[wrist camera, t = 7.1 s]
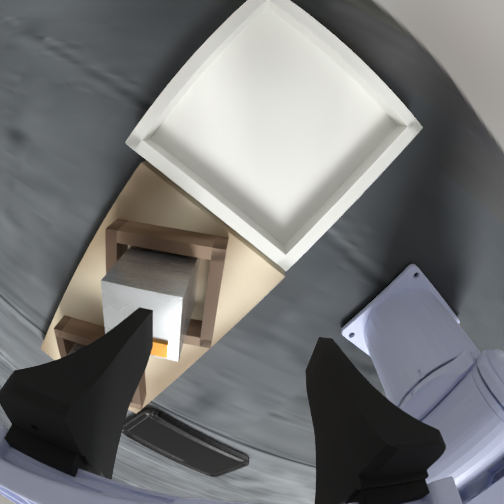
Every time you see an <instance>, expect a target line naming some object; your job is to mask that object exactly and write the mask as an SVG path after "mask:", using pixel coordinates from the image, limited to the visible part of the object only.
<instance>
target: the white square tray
mask: <svg viewBox="0 0 504 504" xmlns="http://www.w3.org/2000/svg"><path fill="white" fill-rule="evenodd" d="M422 128H423V127H422V126H421V124H420V123H419V122H418V121H417V119H416V118H415V117H414V116H413V115H412V113H411V112H410V111H409V110H408V109H407V107H406V106H405V105H404V104H403V103H402V102H401V101H400V99H399V98H398V97H397V96H396V95H395V94H394V93H393V92H392V90H391V89H390V88H389V87H388V86H387V85H386V84H385V83H384V82H383V81H382V80H381V79H380V78H379V77H378V76H377V75H376V74H375V73H374V72H373V71H372V70H371V69H370V68H369V67H368V66H367V65H366V64H365V63H364V62H363V61H362V60H361V59H360V58H359V57H358V56H357V55H356V54H355V53H354V52H353V51H352V50H351V49H349V48H348V47H347V46H346V45H345V44H344V43H343V42H342V41H341V40H339V39H338V38H337V37H336V36H335V35H334V34H332V33H331V32H330V31H329V30H328V29H327V28H325V27H324V26H323V25H322V24H320V23H319V22H318V21H317V20H315V19H314V18H313V17H312V16H310V15H309V14H308V13H306V12H305V11H304V10H303V9H301V8H300V7H298V6H297V5H296V4H294V3H293V2H292V1H290V0H247V1H246V2H245V3H244V4H243V5H242V6H241V7H239V8H238V9H237V10H236V11H235V12H234V13H233V14H232V15H231V16H230V17H229V18H228V19H227V20H226V21H225V22H224V23H223V24H222V25H221V26H220V27H219V28H218V29H217V30H216V31H215V32H214V33H213V34H212V35H211V36H210V37H209V38H208V39H207V40H206V41H205V42H204V44H203V45H202V46H201V47H200V48H199V49H198V50H197V51H196V52H195V53H194V54H193V56H192V57H191V58H190V59H189V60H188V61H187V62H186V64H185V65H184V66H183V67H182V68H181V69H180V71H179V72H178V73H177V74H176V75H175V77H174V78H173V79H172V80H171V81H170V83H169V84H168V85H167V86H166V88H165V89H164V90H163V91H162V93H161V94H160V95H159V96H158V98H157V99H156V100H155V102H154V103H153V104H152V106H151V107H150V108H149V110H148V111H147V112H146V114H145V115H144V116H143V118H142V119H141V120H140V122H139V123H138V125H137V126H136V127H135V129H134V130H133V132H132V133H131V135H130V136H129V138H128V139H127V140H126V142H125V144H127V145H128V146H129V147H130V148H132V149H133V150H134V151H135V152H137V153H138V154H139V155H141V156H142V157H143V158H144V159H146V160H147V161H148V162H149V163H151V164H152V165H153V166H154V167H156V168H157V169H158V170H160V171H161V172H162V173H163V174H165V175H166V176H167V177H168V178H170V179H171V180H172V181H173V182H175V183H176V184H177V185H178V186H180V187H181V188H182V189H183V190H185V191H186V192H187V193H189V194H190V195H191V196H192V197H194V198H195V199H196V200H197V201H199V202H200V203H201V204H202V205H204V206H205V207H206V208H207V209H209V210H210V211H211V212H212V213H214V214H215V215H216V216H217V217H219V218H220V219H221V220H222V221H224V222H225V223H226V224H227V225H229V226H230V227H231V228H232V229H234V230H235V231H236V232H237V233H239V234H240V235H241V236H243V237H244V238H245V239H246V240H248V241H249V242H250V243H251V244H253V245H254V246H255V247H256V248H258V249H259V250H260V251H261V252H262V253H264V254H265V255H266V256H267V257H269V258H270V259H271V260H272V261H274V262H275V263H276V264H277V265H279V266H280V267H281V268H282V269H284V270H285V271H287V270H288V269H289V268H290V267H291V266H292V265H293V264H294V263H295V262H296V261H297V260H298V259H299V258H300V257H301V256H302V255H303V254H304V253H305V252H306V251H307V250H308V249H309V248H310V247H311V246H312V245H313V244H314V243H315V242H316V241H317V240H318V239H319V238H320V237H321V236H322V235H323V234H324V233H325V232H326V231H327V230H328V229H329V228H330V227H331V226H332V225H333V224H334V223H335V222H336V221H337V220H338V219H339V218H340V217H341V216H342V215H343V214H344V212H345V211H346V210H347V209H348V208H349V207H350V206H351V205H352V204H353V203H354V202H355V201H356V200H357V199H358V198H359V197H360V196H361V195H362V194H363V193H364V191H365V190H366V189H367V188H368V187H369V186H370V185H371V184H372V183H373V182H374V181H375V180H376V179H377V178H378V177H379V175H380V174H381V173H382V172H383V171H384V170H385V169H386V168H387V167H388V166H389V165H390V164H391V163H392V161H393V160H394V159H395V158H396V157H397V156H398V155H399V154H400V153H401V152H402V150H403V149H404V148H405V147H406V146H407V145H408V144H409V143H410V142H411V141H412V139H413V138H414V137H415V136H416V135H417V134H418V133H419V132H420V130H421V129H422Z"/></svg>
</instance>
